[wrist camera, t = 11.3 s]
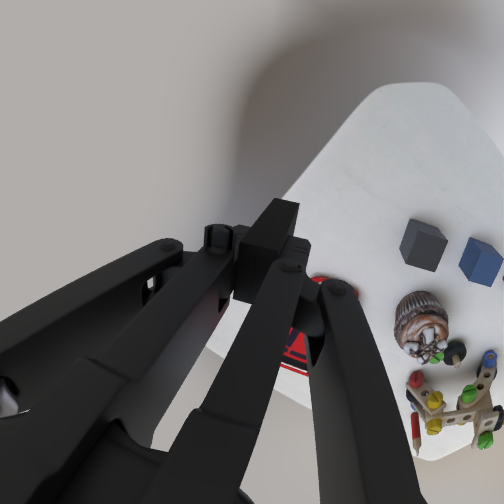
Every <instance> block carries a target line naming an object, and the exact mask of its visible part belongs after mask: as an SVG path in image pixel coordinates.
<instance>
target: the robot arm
mask: <svg viewBox="0 0 504 504" xmlns="http://www.w3.org/2000/svg"><path fill="white" fill-rule="evenodd" d="M299 204H300V203H296V202H291V201H287V200H282V199H278V198H274V199H273V200H272V202H271V203H270V204H269V205H268V207H267V208H266V209H265V211H264V212H263V213H262V214H261V215H260V217H259V218H258V219H257V221H256V222H255V223H254V224H253V225H252V227H248V226H244V225H237V226H234V227H232V226H228V225H224V224H211V225H208V226H206V227H205V233H204V246H203V247H202V248H201V249H200V250H199V251H198V252H188V251H183V244H182V243H181V242H180V241H178V240H175V239H172V238H165V239H160V240H157V241H154V242H152V243H150V244H148V245H146V246H144V247H142V248H140V249H137V250H135V251H133V252H131V253H129V254H127V255H125V256H123V257H121V258H119V259H117V260H115V261H113V262H111V263H108V264H107V265H105V266H102V267H101V268H98V269H97V270H95V271H93V272H91V273H89V274H87V275H85V276H83V277H81V278H79V279H77V280H75V281H74V282H71V283H69V284H67V285H66V286H64V287H62V288H60V289H58V290H56V291H54V292H52V293H51V294H49V295H47V296H45V297H43V298H41V299H40V300H38V301H36V302H34V303H33V304H31V305H29V306H27V307H25V308H23V309H22V310H20V311H18V312H17V313H15V314H13V315H11V316H9V317H8V318H6V319H4V320H3V321H1V322H0V504H254V502H253V501H252V500H251V499H250V498H249V497H248V495H247V494H245V493H244V492H243V491H242V490H241V489H240V488H239V487H240V484H241V482H242V479H243V477H244V474H245V471H246V469H247V466H248V463H249V460H250V457H251V454H252V452H253V449H254V446H255V443H256V440H257V437H258V435H259V432H260V428H261V425H262V422H263V419H264V416H265V413H266V410H267V407H268V403H269V400H270V397H271V394H272V391H273V387H274V384H275V381H276V378H277V374H278V371H279V368H280V364H281V361H282V357H283V354H284V351H285V347H286V344H287V340H288V336H289V333H290V329H291V327H292V328H294V329H296V330H297V331H299V332H301V333H303V334H305V335H304V344H305V352H306V360H307V368H308V376H309V385H310V393H311V402H312V411H313V421H314V431H315V441H316V453H317V465H318V476H319V491H320V504H427V502H426V501H425V499H424V498H423V496H422V494H421V492H420V488H419V483H418V479H417V475H416V470H415V466H414V462H413V458H412V454H411V451H410V447H409V443H408V440H407V436H406V432H405V429H404V426H403V422H402V419H401V416H400V412H399V409H398V406H397V403H396V400H395V396H394V393H393V390H392V387H391V384H390V381H389V378H388V376H387V373H386V370H385V367H384V364H383V361H382V359H381V356H380V353H379V350H378V348H377V345H376V342H375V340H374V337H373V334H372V332H371V329H370V327H369V324H368V322H367V319H366V317H365V314H364V312H363V309H362V307H361V304H360V302H359V300H358V297H357V295H356V292H355V290H354V289H353V287H352V286H351V285H349V284H348V283H347V282H345V281H342V280H338V279H326V280H324V281H323V282H322V283H321V284H319V283H317V282H315V281H313V280H312V279H311V278H309V277H308V275H307V274H306V266H307V262H308V257H309V253H310V249H311V244H310V242H309V241H308V240H307V239H303V238H298V237H294V236H293V234H294V229H295V224H296V219H297V214H298V209H299ZM152 277H153V287H151V288H148V285H147V280H149V279H151V278H152ZM233 290H234V293H233V299H235V300H238V301H242V302H245V303H249V304H252V305H251V307H250V309H249V311H248V313H247V316H246V318H245V320H244V322H243V324H242V326H241V328H240V330H239V332H238V334H237V336H236V338H235V340H234V342H233V344H232V346H231V348H230V350H229V352H228V354H227V356H226V358H225V360H224V362H223V364H222V366H221V368H220V370H219V372H218V374H217V375H216V377H215V379H214V381H213V383H212V385H211V387H210V389H209V391H208V393H207V395H206V397H205V399H204V401H203V403H202V404H201V406H200V407H199V408H197V409H194V410H193V411H192V412H191V413H190V414H189V416H188V417H187V419H186V420H185V422H184V424H183V426H182V428H181V430H180V431H179V433H178V435H177V437H176V439H175V441H174V442H173V444H172V446H171V448H170V450H169V452H164V451H160V450H155V449H151V448H150V447H151V444H152V439H153V434H154V431H155V429H156V427H157V425H158V424H159V422H160V420H161V419H162V417H163V415H164V413H165V412H166V410H167V409H168V407H169V405H170V404H171V402H172V400H173V399H174V397H175V395H176V394H177V392H178V390H179V389H180V387H181V385H182V384H183V382H184V380H185V378H186V377H187V375H188V374H189V372H190V370H191V368H192V367H193V365H194V363H195V362H196V360H197V358H198V356H199V355H200V353H201V351H202V350H203V348H204V347H205V345H206V343H207V341H208V340H209V338H210V336H211V335H212V333H213V331H214V330H215V328H216V326H217V325H218V323H219V321H220V319H221V318H222V316H223V314H224V313H225V311H226V309H227V308H228V306H229V302H230V295H231V293H232V291H233ZM29 409H30V410H29ZM26 410H29V411H28V412H24V413H20V412H23V411H26ZM19 413H20V414H19Z"/></svg>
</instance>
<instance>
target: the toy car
mask: <svg viewBox="0 0 504 504" xmlns="http://www.w3.org/2000/svg"><path fill="white" fill-rule="evenodd" d="M311 279H312V280H313V281H315V282H317V283H319V284H321V283H322V282H323V281H324V280H326V279H327V278H325V277H313V278H311ZM355 292H356V291H355ZM356 295H357V297H358V293H357V292H356ZM304 335H305V334H303V333H301V332H299V331H297V330H296V329H294V328H292V327H291V329H290V333H289V336H288V340H287V344H286V347H285V351H284V354H283V357H282V361H281V362H284V363H286V364H289V365H291V366H294V367H297V368H299V369H301V370H306V371H308V368H307V360H306V352H305V344H304ZM280 366H281V367H283V368H286V369H289V370H291V371H294V372H297V373H299V374H302V375H305V376H308V372H307V373H305V372H302V371H299V370H297V369H294V368H291V367H289V366H286V365H283V364H280ZM308 377H309V376H308Z"/></svg>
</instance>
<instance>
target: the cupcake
mask: <svg viewBox="0 0 504 504" xmlns="http://www.w3.org/2000/svg"><path fill="white" fill-rule="evenodd" d="M448 334H449V332H448V315H447V313H446V311H445V309H444V308H443V306H442V305H441V304H440V302H439V301H438V300H437V299H436V298H435V297H434V296H433V295H432V294H430V293H429V292H425V291H416V292H413V293H411V294H409V295H407V296H405V297H404V298H403V299H402V300H401V301H400V303H399V304H398V306H397V309H396V320H395V327H394V337H395V340H397V343H398V345H399V346H400V348H402V349H403V350H404V351H405V352H406V353H407V354H408V355H410V356H411V357H414V358H417V362H418V363H419V364H421V363H422V365H423V364H426V363H428V362H429V361H430V360H431V359H433V358H434V356H435V355H436V354H438V353H441V352H443V350H444V349H445V348H447V345H448V344H447V342H446V341H447V337H448Z"/></svg>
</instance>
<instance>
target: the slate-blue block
mask: <svg viewBox="0 0 504 504" xmlns="http://www.w3.org/2000/svg"><path fill="white" fill-rule="evenodd" d="M503 260H504V258H503V257H502V256H501V255H500V254H499V253H498V252H497V251H496V250H495V249H494V248H493V247H492V246H491V245H489V244H486V243H484V242H481V241H478V240H476V239H473V238H469V240H468V243H467V246H466V248H465V251H464V253H463V256H462V258H461V260H460V263H459V267H460V268H461V270H462V271H463V273H464V274H465V276H466V277H467V279H468V280H469V281H472V282H475V283H478V284H482V285H485V286H488V287H491V286H492V284H493V282H494V280H495V278H496V276H497V273H498V271H499V269H500V267H501V265H502V262H503Z"/></svg>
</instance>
